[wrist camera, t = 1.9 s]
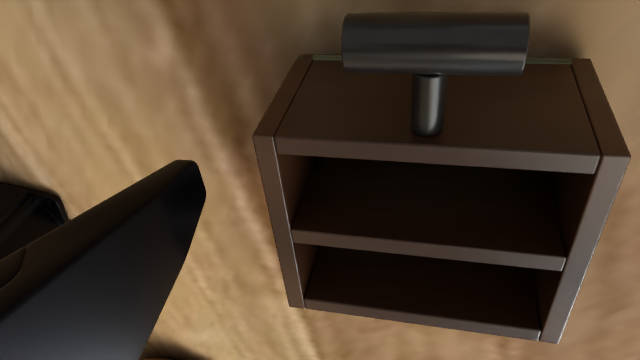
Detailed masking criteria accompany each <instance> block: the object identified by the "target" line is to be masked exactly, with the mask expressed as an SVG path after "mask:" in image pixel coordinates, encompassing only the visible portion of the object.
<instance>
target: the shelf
mask: <svg viewBox="0 0 640 360" xmlns="http://www.w3.org/2000/svg"><path fill="white" fill-rule="evenodd" d="M529 37H530V17H529V13H528V12H401V13H347V14H346V15H345V18H344V21H343V26H342V34H341V55H298V57H297V59H296V61H295V62H294V64H293V66H292V68H291V69H290V71H289V73H288V74H287V76H286V78H285V80H284V81H283V83H282V85H281V87H280V88H279V90H278V92H277V93H276V95H275V97H274V99H273V100H272V102H271V104H270V105H269V107H268V109H267V111H266V112H265V114H264V116H263V118H262V119H261V121H260V123H259V124H258V126H257V128H256V130H255V131H254V133H253V135H252V138H253V142H254V147H255V151H256V156H257V161H258V165H259V170H260V174H261V179H262V183H263V188H264V193H265V197H266V202H267V206H268V211H269V215H270V220H271V225H272V229H273V234H274V238H275V243H276V248H277V252H278V257H279V261H280V266H281V270H282V275H283V280H284V284H285V289H286V293H287V298H288V302H289V306H290V307H295V308H302V309H305V308H306V309H312V310H319V311H326V312H333V313H341V314H348V315H355V316H362V317H369V318H376V319H384V320H391V321H398V322H405V323H412V324H420V325H427V326H434V327H441V328H448V329H455V330H463V331H470V332H477V333H484V334H491V335H498V336H506V337H513V338H520V339H527V340H534V341H538V339H539V341H540V342H547V343H554V344H558V343H559V341H560V338H561V336H562V333H563V330H564V328H565V325H566V323H567V320H568V318H569V315H570V312H571V310H572V307H573V305H574V302H575V300H576V297H577V294H578V292H579V289H580V287H581V284H582V282H583V279H584V276H585V274H586V271H587V269H588V266H589V264H590V261H591V259H592V256H593V253H594V251H595V248H596V246H597V243H598V241H599V238H600V235H601V233H602V230H603V228H604V225H605V223H606V220H607V217H608V215H609V212H610V210H611V207H612V205H613V202H614V199H615V197H616V194H617V192H618V189H619V187H620V184H621V182H622V179H623V176H624V174H625V171H626V169H627V166H628V164H629V161H630V158H631V155H630V152H629V150H628V148H627V145H626V143H625V140H624V138H623V136H622V133H621V131H620V129H619V126H618V124H617V121H616V119H615V117H614V114H613V112H612V110H611V107H610V105H609V102H608V100H607V98H606V95H605V93H604V90H603V88H602V86H601V83H600V81H599V79H598V76H597V74H596V71H595V69H594V67H593V64H592V61H591V59H585V58H527V54H528V47H529Z"/></svg>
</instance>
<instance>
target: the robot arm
mask: <svg viewBox="0 0 640 360" xmlns="http://www.w3.org/2000/svg"><path fill="white" fill-rule="evenodd" d="M205 199H206V190H205V186H204V183H203V180H202V177H201V174H200V170H199V167H198V165H197V163H196V162H194V161H192V160H175V161H173V162H171V163H170V164H168V165H166V166H164V167H163V168H161V169H159V170H157V171H156V172H154V173H152V174H150V175H149V176H147V177H145V178H143V179H142V180H140V181H138V182H136V183H135V184H133V185H131V186H129V187H128V188H126V189H124V190H122V191H121V192H119V193H117V194H115V195H114V196H112V197H110V198H108V199H107V200H105V201H103V202H101V203H100V204H98V205H96V206H94V207H93V208H91V209H89V210H87V211H86V212H84V213H82V214H80V215H79V216H77V217H75V218H73V219H72V220H70V221H69V219H68V216H67V214H66V211H65V208H64V206H63V203H62V201H61V199H60V198H59V197H58V196H56V195H54V194H51V193H46V192H42V191H38V190H33V189H29V188H25V187H20V186H16V185H12V184H7V183H3V182H0V360H139V358H140V356H141V354H142V352H143V350H144V348H145V346H146V343H147V341H148V339H149V337H150V335H151V333H152V331H153V328H154V326H155V324H156V322H157V320H158V318H159V315H160V313H161V311H162V309H163V307H164V305H165V303H166V300H167V298H168V296H169V294H170V292H171V290H172V288H173V285H174V283H175V281H176V279H177V277H178V275H179V272H180V270H181V268H182V266H183V264H184V261H185V259H186V256H187V253H188V251H189V248H190V245H191V242H192V239H193V236H194V233H195V230H196V227H197V224H198V221H199V218H200V215H201V212H202V209H203V206H204V203H205Z"/></svg>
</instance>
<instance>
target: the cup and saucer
mask: <svg viewBox="0 0 640 360" xmlns="http://www.w3.org/2000/svg"><path fill="white" fill-rule="evenodd" d="M143 360H171V359H163V358H148V359H143Z"/></svg>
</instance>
